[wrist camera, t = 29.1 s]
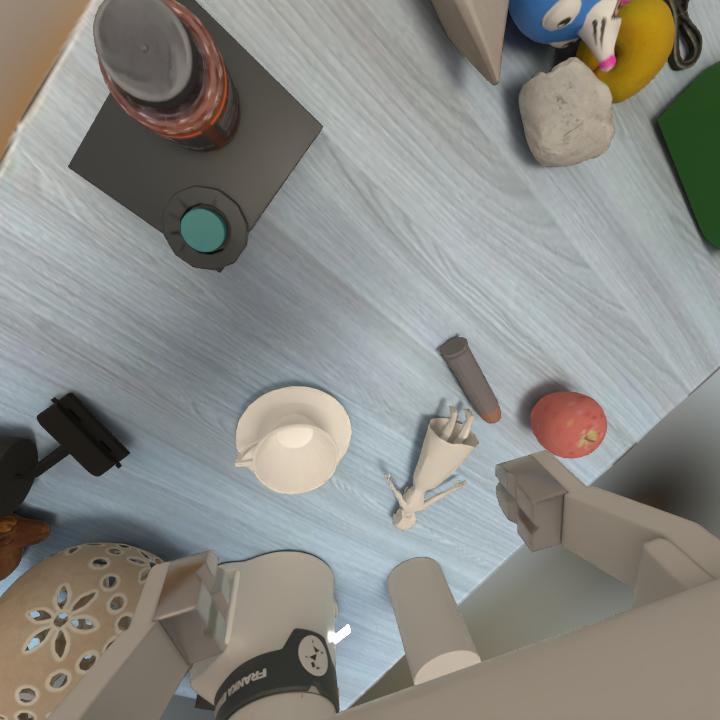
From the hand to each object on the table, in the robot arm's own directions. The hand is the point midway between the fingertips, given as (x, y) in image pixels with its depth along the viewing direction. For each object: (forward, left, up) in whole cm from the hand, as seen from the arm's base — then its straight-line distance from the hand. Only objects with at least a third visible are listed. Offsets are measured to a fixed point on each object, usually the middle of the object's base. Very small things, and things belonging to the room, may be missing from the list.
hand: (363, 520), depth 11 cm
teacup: (-12, -8, -27) cm, 31 cm away
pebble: (+27, -7, -24) cm, 37 cm away
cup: (-23, -37, -27) cm, 52 cm away
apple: (+7, -31, -27) cm, 42 cm away
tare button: (0, +10, -24) cm, 26 cm away
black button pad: (+5, +13, -27) cm, 31 cm away
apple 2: (+34, -9, -26) cm, 43 cm away
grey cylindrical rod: (+4, -20, -27) cm, 34 cm away
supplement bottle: (+7, +15, -26) cm, 30 cm away
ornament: (-36, +6, -19) cm, 41 cm away
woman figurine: (+1, -21, -25) cm, 32 cm away
